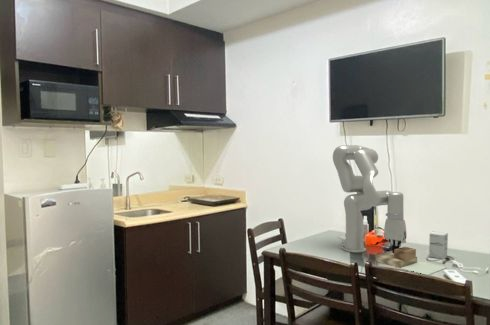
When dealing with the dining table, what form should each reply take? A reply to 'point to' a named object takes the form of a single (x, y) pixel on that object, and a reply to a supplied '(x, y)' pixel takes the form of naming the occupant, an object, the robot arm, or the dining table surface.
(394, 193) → the robot arm
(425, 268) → the sage mat
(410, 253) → the brown wooden block
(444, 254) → the supplement box
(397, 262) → the birch deck
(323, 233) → the dining table surface
